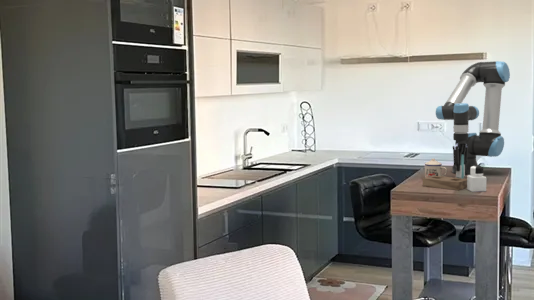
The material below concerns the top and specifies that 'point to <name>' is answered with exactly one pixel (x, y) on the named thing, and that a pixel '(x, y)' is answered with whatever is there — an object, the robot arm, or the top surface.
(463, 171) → the teal peg
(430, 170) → the teacup with lid
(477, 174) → the medicine bottle
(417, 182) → the top surface
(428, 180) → the walnut hole block
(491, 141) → the robot arm
